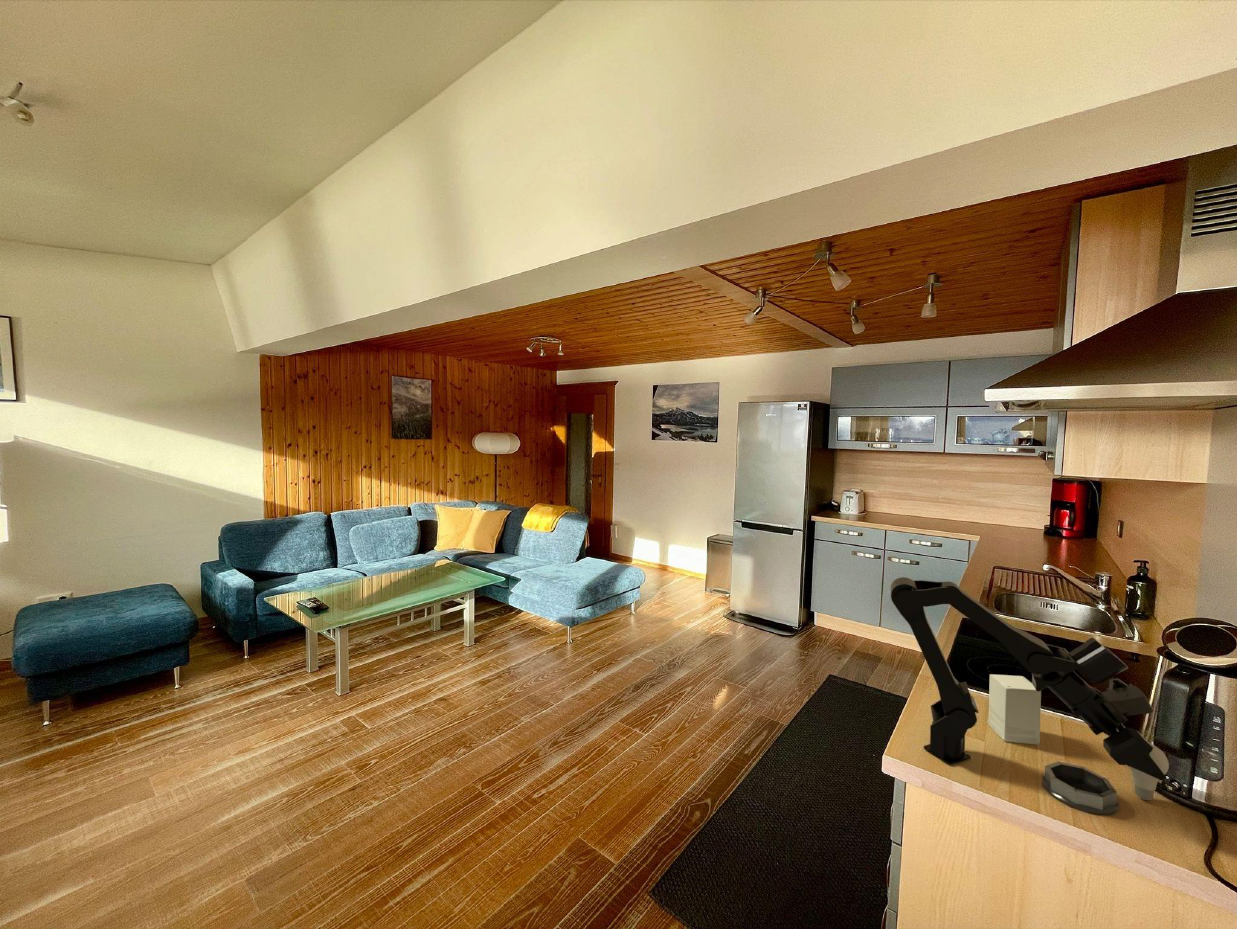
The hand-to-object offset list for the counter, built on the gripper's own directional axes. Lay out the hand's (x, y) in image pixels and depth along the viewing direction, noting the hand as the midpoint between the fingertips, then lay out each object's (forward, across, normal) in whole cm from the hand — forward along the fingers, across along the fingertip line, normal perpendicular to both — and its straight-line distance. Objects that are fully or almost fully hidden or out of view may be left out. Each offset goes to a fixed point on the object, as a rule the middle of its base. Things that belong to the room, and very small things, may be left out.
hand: (1151, 764), depth 97 cm
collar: (-3, -4, +13) cm, 14 cm away
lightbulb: (+4, 0, +6) cm, 7 cm away
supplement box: (-8, +15, +18) cm, 25 cm away
